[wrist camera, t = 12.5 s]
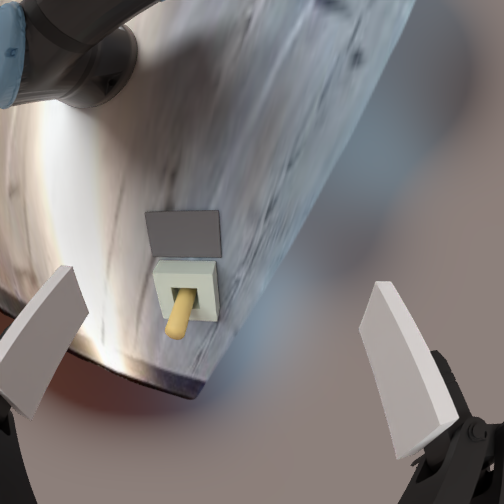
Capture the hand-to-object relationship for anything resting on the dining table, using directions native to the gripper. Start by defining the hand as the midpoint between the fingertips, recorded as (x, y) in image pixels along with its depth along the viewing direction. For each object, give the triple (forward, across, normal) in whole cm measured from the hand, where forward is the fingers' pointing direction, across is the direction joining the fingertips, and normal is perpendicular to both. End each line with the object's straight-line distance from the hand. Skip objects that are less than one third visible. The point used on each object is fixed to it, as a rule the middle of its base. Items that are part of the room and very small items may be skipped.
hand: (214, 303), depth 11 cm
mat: (+31, -10, -12) cm, 35 cm away
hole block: (+31, -9, -22) cm, 39 cm away
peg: (+31, -9, -23) cm, 39 cm away
